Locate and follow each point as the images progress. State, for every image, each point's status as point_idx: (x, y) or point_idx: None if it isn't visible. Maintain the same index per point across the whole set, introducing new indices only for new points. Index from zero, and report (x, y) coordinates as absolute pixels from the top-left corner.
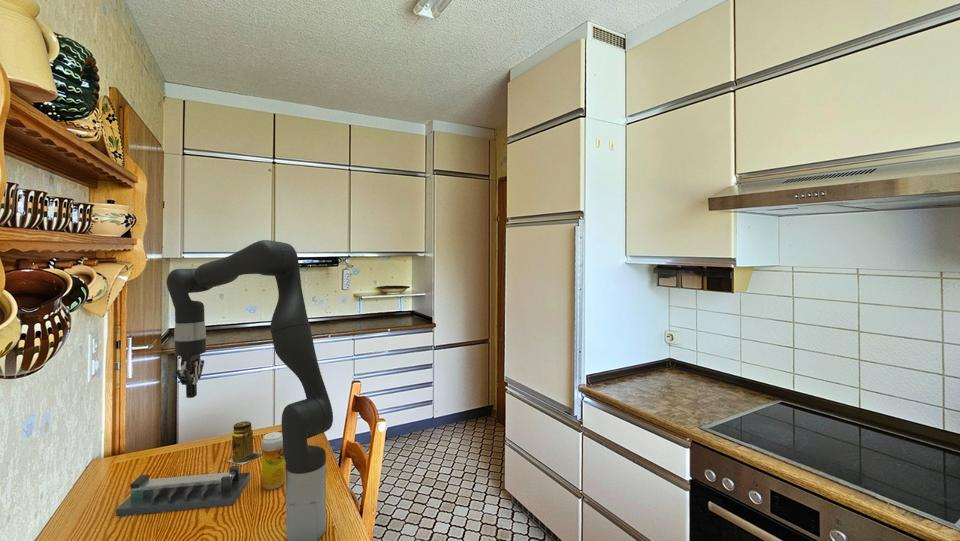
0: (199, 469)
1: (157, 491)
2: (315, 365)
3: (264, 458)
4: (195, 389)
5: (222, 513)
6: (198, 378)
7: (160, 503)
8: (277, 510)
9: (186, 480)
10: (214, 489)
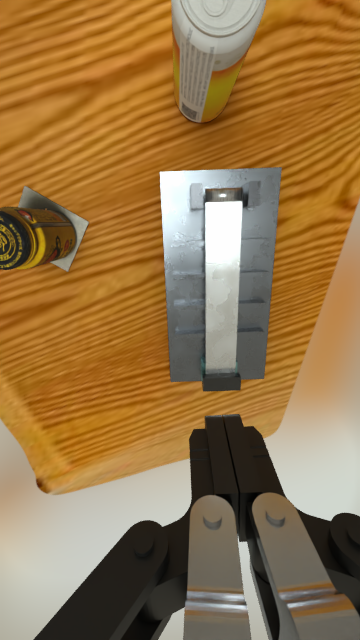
0: (104, 314)
1: None
2: None
3: (241, 65)
4: (234, 451)
5: (302, 182)
6: (167, 536)
7: (263, 316)
8: (330, 36)
9: (227, 295)
10: None
